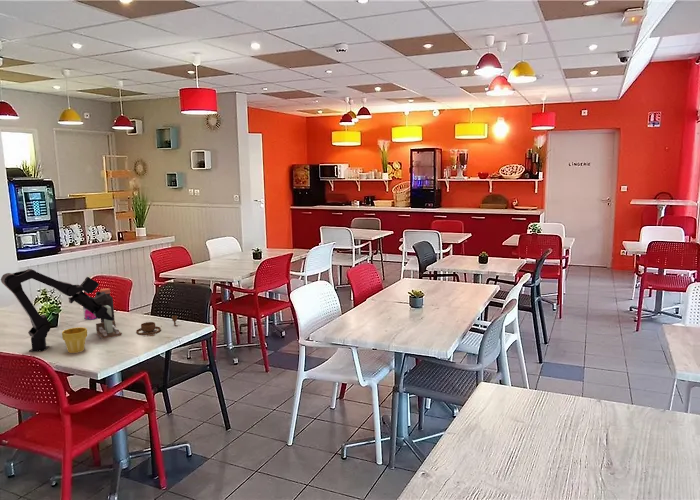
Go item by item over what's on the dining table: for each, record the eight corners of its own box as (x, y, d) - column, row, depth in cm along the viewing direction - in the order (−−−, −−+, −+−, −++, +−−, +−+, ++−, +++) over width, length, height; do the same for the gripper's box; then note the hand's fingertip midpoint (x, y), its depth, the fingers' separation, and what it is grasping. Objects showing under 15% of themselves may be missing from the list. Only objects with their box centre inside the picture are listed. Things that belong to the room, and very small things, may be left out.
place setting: (138, 329, 276) (137, 318, 275) (178, 325, 282) (177, 314, 281) (134, 339, 260) (133, 327, 259) (176, 335, 265) (175, 323, 264)
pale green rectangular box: (113, 332, 264) (111, 307, 262) (107, 333, 262) (105, 308, 260) (110, 329, 268) (108, 305, 266) (104, 330, 267) (102, 306, 265)
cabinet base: (121, 335, 264) (120, 325, 263) (102, 338, 259) (101, 329, 258) (115, 329, 274) (114, 320, 273) (96, 333, 268) (95, 323, 267)
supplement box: (83, 319, 294) (81, 299, 292) (91, 316, 299) (90, 297, 298) (92, 320, 292) (90, 300, 290) (99, 317, 298) (98, 297, 296)
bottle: (100, 325, 282) (96, 289, 279) (113, 322, 286) (110, 287, 283) (102, 327, 277) (99, 291, 274) (116, 325, 281) (113, 289, 278)
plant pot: (92, 350, 242) (90, 329, 241) (69, 356, 235) (66, 335, 233) (83, 345, 249) (81, 325, 248) (60, 351, 242) (58, 330, 240)
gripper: (101, 291, 252) (126, 309, 261) (92, 284, 267) (116, 302, 275) (84, 309, 248) (111, 327, 257) (76, 302, 263) (102, 319, 271)
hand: (110, 318), depth 265 cm, fingers closed on pale green rectangular box, 6 cm apart
